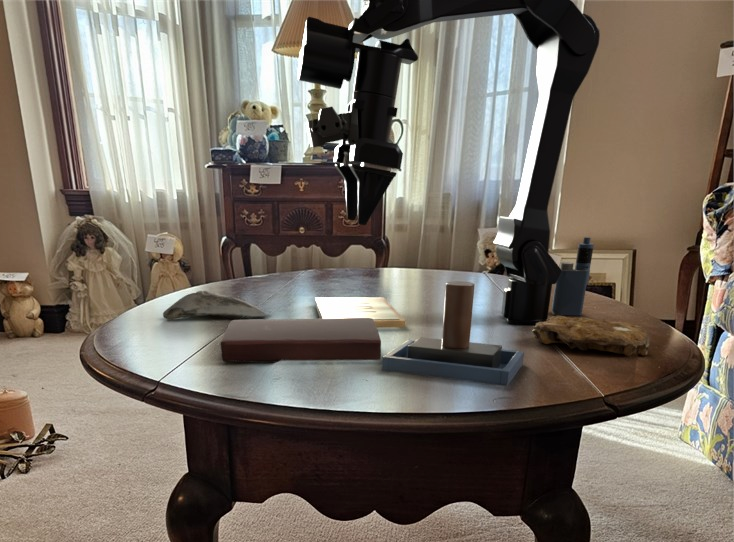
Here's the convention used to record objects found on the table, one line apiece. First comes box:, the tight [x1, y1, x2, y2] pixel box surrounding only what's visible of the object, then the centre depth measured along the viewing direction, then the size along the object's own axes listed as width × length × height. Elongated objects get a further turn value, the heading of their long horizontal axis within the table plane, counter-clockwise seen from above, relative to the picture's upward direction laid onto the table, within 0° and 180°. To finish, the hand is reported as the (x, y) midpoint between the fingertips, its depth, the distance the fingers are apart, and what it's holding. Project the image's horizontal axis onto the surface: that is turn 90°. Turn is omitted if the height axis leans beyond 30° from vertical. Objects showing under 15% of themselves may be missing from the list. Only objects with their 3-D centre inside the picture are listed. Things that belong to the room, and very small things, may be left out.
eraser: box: [408, 280, 503, 368], centre depth 75 cm, size 10×5×10 cm, turn 67°
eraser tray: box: [381, 339, 525, 386], centre depth 77 cm, size 15×10×2 cm, turn 67°
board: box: [314, 296, 406, 329], centre depth 105 cm, size 20×12×2 cm, turn 7°
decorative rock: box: [531, 315, 651, 357], centre depth 87 cm, size 11×4×15 cm
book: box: [220, 317, 382, 363], centre depth 84 cm, size 12×19×3 cm, turn 94°
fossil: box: [162, 290, 267, 320], centre depth 105 cm, size 11×5×15 cm
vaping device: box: [551, 237, 595, 317], centre depth 107 cm, size 3×5×12 cm, turn 89°
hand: (356, 222), depth 93 cm, fingers open, 9 cm apart
